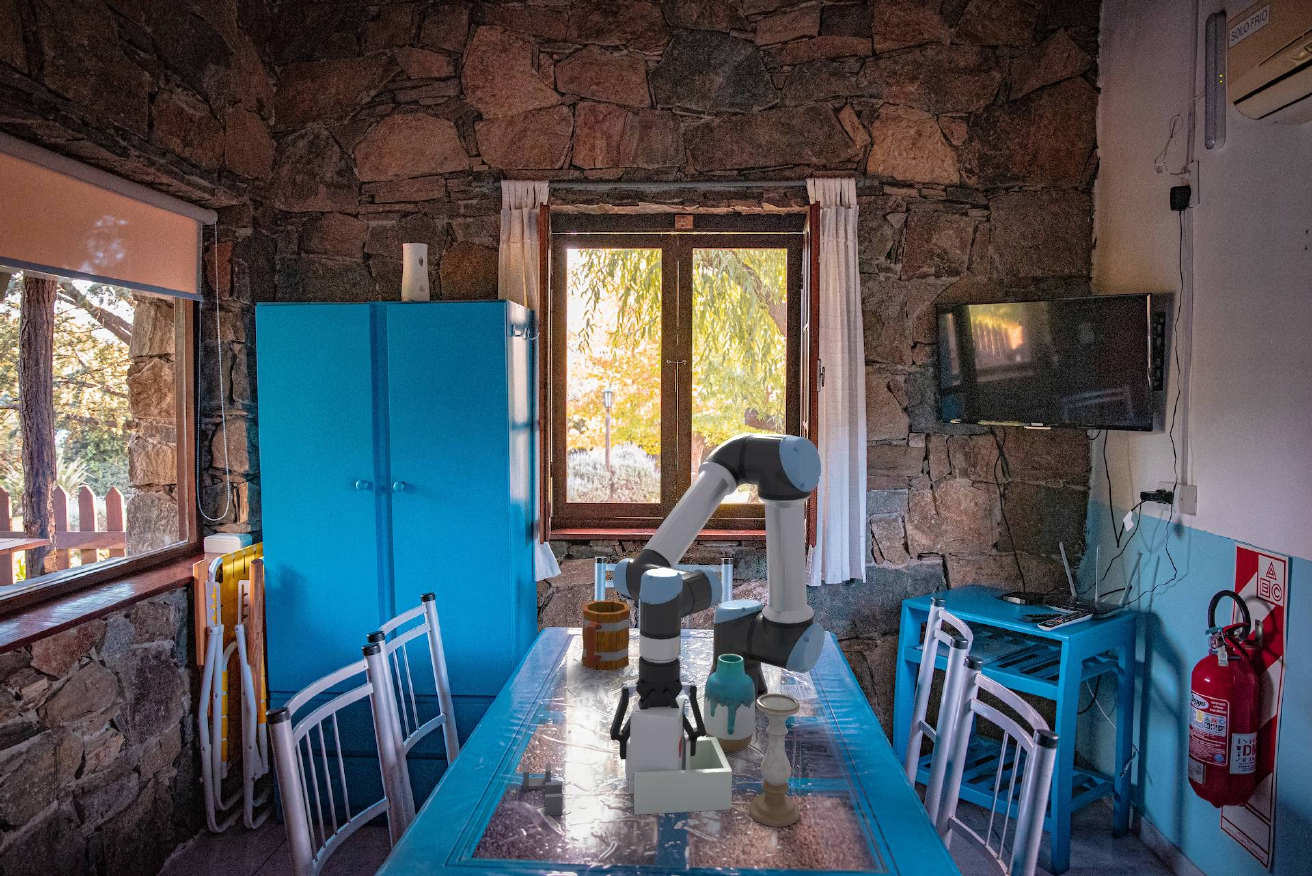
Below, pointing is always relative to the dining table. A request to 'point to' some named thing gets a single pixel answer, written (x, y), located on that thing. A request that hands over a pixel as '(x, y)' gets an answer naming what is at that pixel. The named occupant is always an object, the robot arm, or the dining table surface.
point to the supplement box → (656, 739)
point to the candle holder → (775, 765)
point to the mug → (605, 635)
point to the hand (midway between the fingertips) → (657, 773)
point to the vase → (730, 704)
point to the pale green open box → (687, 784)
